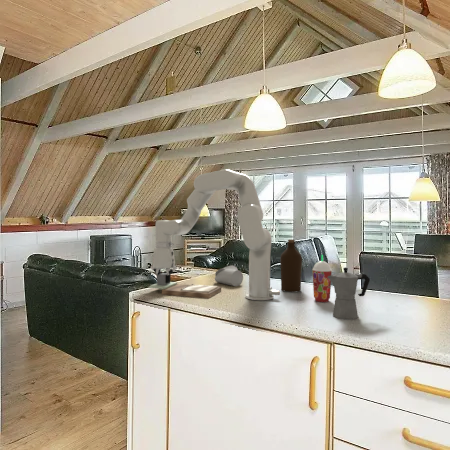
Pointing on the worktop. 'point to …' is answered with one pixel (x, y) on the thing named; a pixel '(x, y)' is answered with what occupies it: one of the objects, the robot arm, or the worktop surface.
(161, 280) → the stub
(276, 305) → the worktop surface
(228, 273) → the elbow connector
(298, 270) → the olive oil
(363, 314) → the worktop surface
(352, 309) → the coffeepot
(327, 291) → the smoothie
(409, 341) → the worktop surface
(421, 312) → the worktop surface
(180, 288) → the ticket board
